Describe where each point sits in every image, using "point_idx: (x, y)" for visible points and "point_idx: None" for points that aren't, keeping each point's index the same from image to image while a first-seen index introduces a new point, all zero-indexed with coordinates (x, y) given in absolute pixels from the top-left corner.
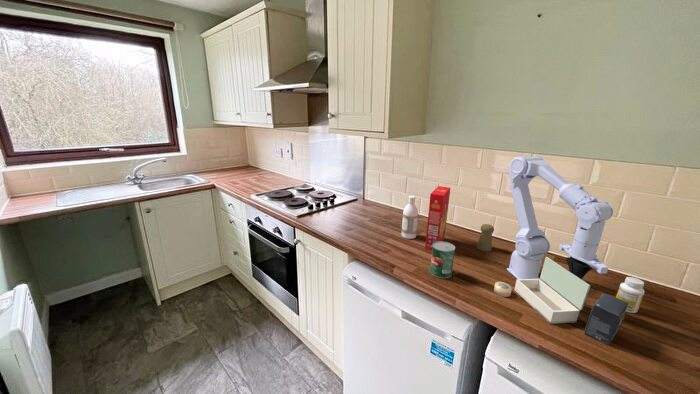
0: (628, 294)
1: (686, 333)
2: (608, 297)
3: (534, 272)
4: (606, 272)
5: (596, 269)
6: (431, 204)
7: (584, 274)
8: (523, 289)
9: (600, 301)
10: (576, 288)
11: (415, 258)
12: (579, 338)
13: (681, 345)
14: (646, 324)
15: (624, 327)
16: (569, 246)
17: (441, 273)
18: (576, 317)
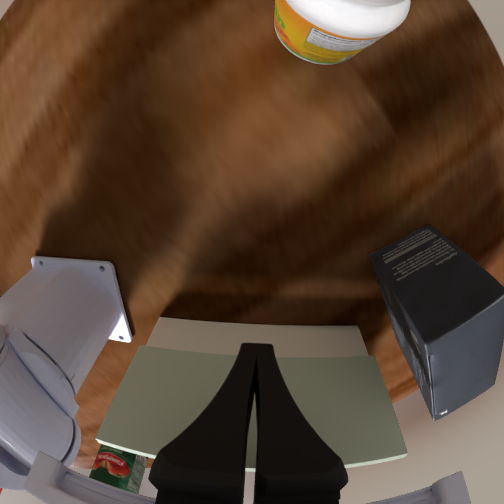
0: (374, 39)
1: (458, 2)
2: (453, 354)
3: (98, 336)
4: (461, 478)
5: (404, 500)
6: (1, 488)
7: (287, 397)
8: None
9: (442, 396)
10: (343, 421)
11: (88, 441)
12: (400, 356)
13: (498, 90)
14: (424, 69)
15: (424, 178)
16: (56, 502)
17: (147, 460)
18: (361, 342)
